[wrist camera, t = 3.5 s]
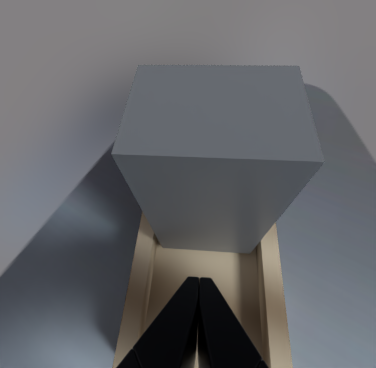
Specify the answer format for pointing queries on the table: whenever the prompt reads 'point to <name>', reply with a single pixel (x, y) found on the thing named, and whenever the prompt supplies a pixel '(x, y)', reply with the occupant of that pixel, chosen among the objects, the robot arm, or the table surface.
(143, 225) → the sleeve track
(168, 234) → the grey rectangular box
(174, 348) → the robot arm
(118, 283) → the table surface
